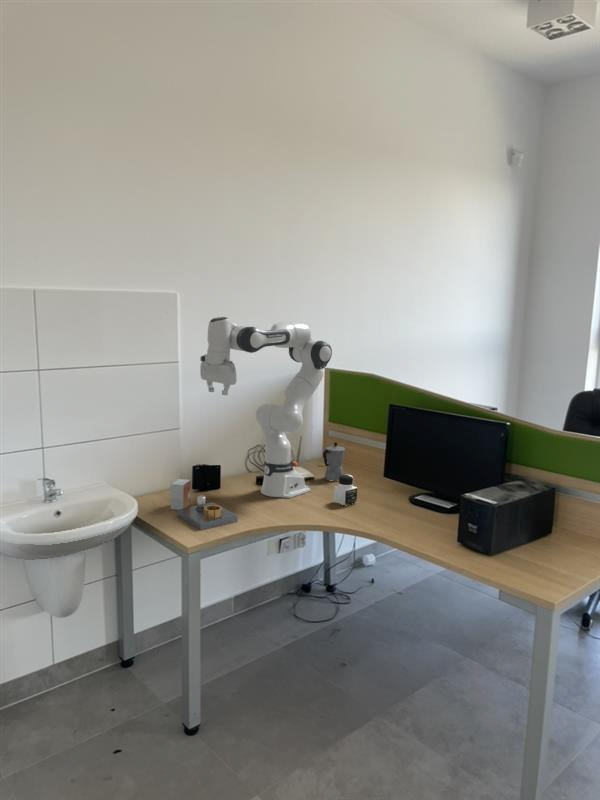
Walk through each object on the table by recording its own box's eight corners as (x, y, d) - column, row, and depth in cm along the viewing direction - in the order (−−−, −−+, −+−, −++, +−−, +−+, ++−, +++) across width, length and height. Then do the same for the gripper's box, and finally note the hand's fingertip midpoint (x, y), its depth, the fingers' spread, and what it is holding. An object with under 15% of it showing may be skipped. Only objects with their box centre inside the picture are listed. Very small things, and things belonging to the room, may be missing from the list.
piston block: (213, 508, 245) (213, 490, 244) (237, 521, 231) (237, 502, 230) (177, 515, 235) (177, 497, 234) (200, 530, 221) (200, 510, 220)
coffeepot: (335, 474, 300) (336, 438, 298) (350, 478, 294) (352, 442, 291) (314, 480, 289) (316, 443, 286) (330, 484, 283) (331, 447, 280)
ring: (216, 511, 234) (216, 504, 234) (225, 516, 229) (225, 509, 228) (201, 514, 230) (201, 507, 229) (210, 520, 225) (210, 512, 224)
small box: (183, 510, 241) (183, 485, 239) (170, 509, 242) (170, 484, 240) (190, 504, 249) (191, 479, 247) (178, 503, 250) (178, 478, 248)
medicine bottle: (345, 506, 253) (346, 478, 251) (333, 502, 258) (334, 474, 256) (356, 503, 257) (358, 476, 255) (344, 499, 263) (346, 472, 261)
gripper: (240, 360, 233) (240, 396, 235) (210, 356, 248) (210, 389, 250) (227, 361, 229) (226, 397, 231) (197, 356, 244) (197, 390, 246)
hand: (217, 393), depth 241 cm, fingers open, 8 cm apart
